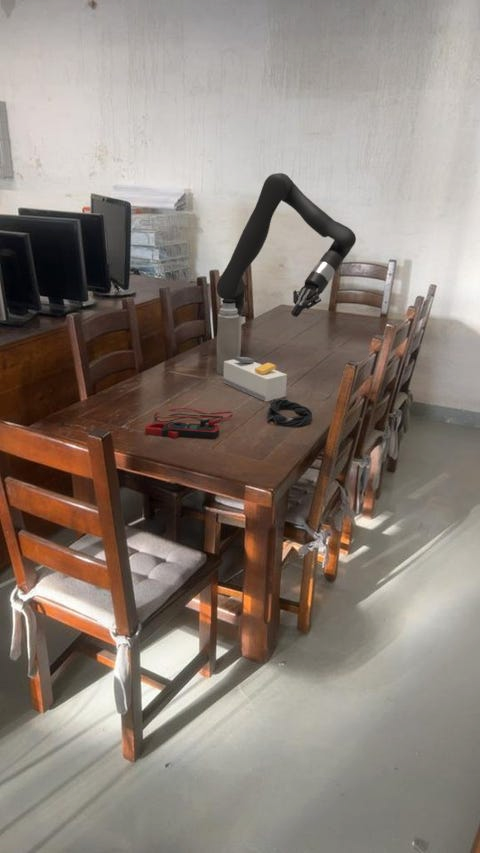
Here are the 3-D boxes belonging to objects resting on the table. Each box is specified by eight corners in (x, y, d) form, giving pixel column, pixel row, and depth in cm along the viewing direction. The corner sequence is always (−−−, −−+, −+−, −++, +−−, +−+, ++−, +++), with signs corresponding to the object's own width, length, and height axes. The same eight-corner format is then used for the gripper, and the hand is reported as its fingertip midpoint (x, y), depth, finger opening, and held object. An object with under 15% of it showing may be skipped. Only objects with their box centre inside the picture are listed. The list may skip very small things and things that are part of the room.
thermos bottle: (222, 368, 232) (223, 296, 221) (240, 371, 229) (243, 299, 218) (213, 373, 226) (214, 300, 214) (232, 376, 223) (234, 302, 211)
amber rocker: (255, 373, 203) (254, 368, 202) (268, 366, 206) (268, 362, 205) (263, 376, 200) (262, 371, 199) (276, 369, 203) (275, 365, 202)
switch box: (222, 382, 216) (222, 361, 213) (242, 377, 222) (243, 357, 219) (264, 401, 199) (266, 379, 196) (285, 396, 205) (286, 374, 202)
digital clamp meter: (227, 429, 167) (141, 423, 169) (227, 444, 169) (141, 437, 171) (236, 400, 189) (159, 395, 191) (236, 413, 190) (160, 408, 192)
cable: (271, 405, 197) (272, 393, 195) (313, 409, 195) (314, 397, 193) (264, 425, 182) (265, 412, 180) (309, 430, 180) (311, 416, 178)
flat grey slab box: (233, 360, 211) (234, 356, 211) (246, 361, 215) (247, 357, 214) (240, 363, 208) (241, 359, 208) (253, 364, 212) (254, 359, 212)
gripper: (302, 268, 215) (276, 305, 212) (328, 272, 205) (301, 312, 203) (311, 281, 220) (286, 318, 218) (338, 286, 211) (311, 325, 208)
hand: (293, 315), depth 210 cm, fingers closed
